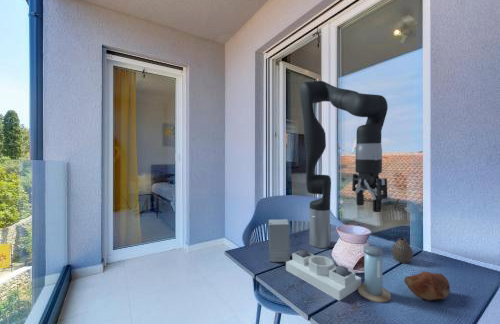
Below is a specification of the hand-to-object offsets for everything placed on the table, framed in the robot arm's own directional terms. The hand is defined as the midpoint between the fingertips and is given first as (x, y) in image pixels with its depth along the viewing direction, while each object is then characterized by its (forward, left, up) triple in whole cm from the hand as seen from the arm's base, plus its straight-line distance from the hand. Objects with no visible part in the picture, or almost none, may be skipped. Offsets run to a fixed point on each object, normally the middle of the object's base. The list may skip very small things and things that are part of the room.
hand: (368, 208), depth 73 cm
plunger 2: (+8, -4, -22) cm, 24 cm away
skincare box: (+10, -31, -26) cm, 41 cm away
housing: (+8, -12, -25) cm, 29 cm away
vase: (-29, -1, -26) cm, 38 cm away
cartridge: (+2, +3, -25) cm, 25 cm away
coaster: (+2, +3, -25) cm, 26 cm away
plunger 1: (+8, -20, -22) cm, 31 cm away
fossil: (-10, +13, -26) cm, 31 cm away
